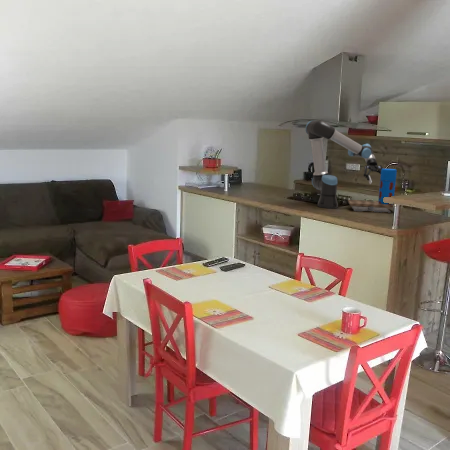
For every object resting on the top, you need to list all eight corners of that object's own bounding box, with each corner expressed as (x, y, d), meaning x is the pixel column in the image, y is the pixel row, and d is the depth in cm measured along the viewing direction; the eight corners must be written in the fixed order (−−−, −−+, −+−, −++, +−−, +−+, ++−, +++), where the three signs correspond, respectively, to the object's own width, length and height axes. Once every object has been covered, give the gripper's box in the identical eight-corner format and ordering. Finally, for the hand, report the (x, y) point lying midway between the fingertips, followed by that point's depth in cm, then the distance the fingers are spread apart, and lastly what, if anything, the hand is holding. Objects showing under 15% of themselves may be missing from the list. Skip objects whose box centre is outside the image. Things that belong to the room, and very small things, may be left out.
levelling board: (350, 205, 369) (350, 201, 368) (347, 201, 384) (348, 197, 383) (395, 207, 365) (396, 203, 365) (390, 203, 381) (391, 199, 380)
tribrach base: (354, 211, 370) (354, 205, 369) (351, 207, 384) (351, 202, 383) (390, 212, 368) (391, 207, 367) (386, 209, 381) (387, 204, 380)
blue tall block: (383, 204, 367) (386, 170, 362) (375, 202, 377) (378, 168, 372) (396, 204, 370) (399, 170, 364) (387, 201, 380) (391, 168, 374)
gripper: (383, 164, 398) (391, 186, 387) (354, 164, 392) (362, 186, 381) (387, 158, 392) (396, 180, 381) (358, 158, 386) (366, 180, 375)
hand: (379, 183), depth 381 cm, fingers open, 13 cm apart
